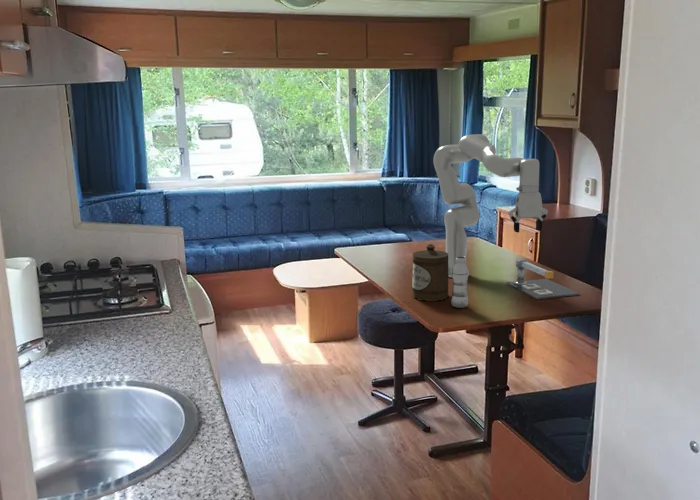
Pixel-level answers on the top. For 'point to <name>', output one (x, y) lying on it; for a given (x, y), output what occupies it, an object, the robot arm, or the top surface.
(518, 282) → the grey metal rounded piece
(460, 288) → the plastic bottle
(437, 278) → the wooden container
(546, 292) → the label plate
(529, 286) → the label plate
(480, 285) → the top surface
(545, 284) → the board
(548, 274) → the bar
